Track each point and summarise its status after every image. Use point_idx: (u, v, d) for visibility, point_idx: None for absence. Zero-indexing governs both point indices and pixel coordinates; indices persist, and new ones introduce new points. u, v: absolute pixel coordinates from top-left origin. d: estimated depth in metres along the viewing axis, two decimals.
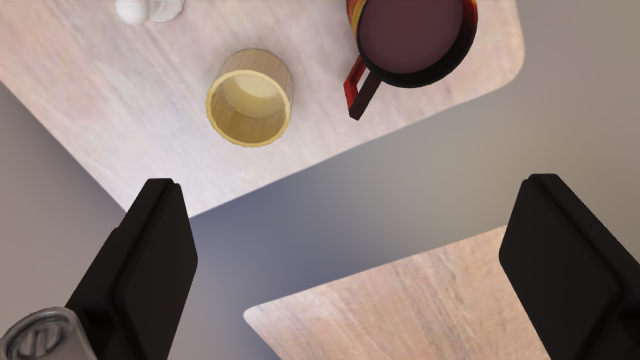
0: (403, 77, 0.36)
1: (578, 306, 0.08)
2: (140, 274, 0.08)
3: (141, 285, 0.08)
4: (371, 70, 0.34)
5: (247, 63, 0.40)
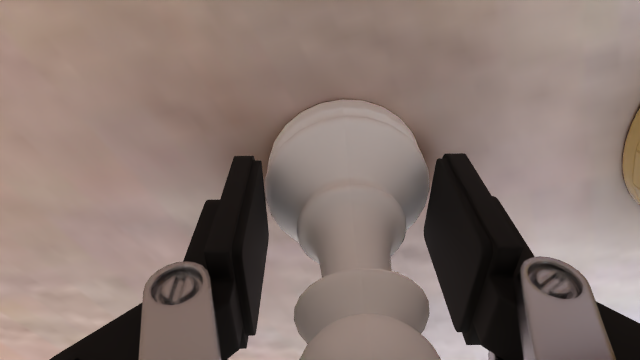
0: None
1: (466, 269, 0.09)
2: (247, 236, 0.09)
3: (248, 246, 0.09)
4: None
5: None
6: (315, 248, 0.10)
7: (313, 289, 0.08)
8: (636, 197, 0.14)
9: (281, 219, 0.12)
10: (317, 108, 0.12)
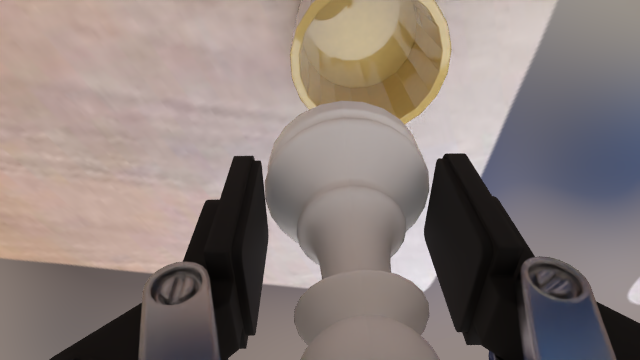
0: None
1: (466, 269, 0.09)
2: (247, 237, 0.09)
3: (247, 246, 0.09)
4: None
5: (305, 7, 0.22)
6: (315, 249, 0.10)
7: (313, 291, 0.08)
8: None
9: (281, 220, 0.12)
10: (317, 110, 0.12)
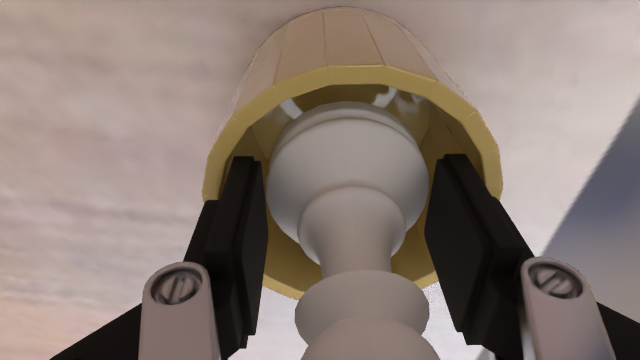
0: None
1: (466, 269, 0.09)
2: (247, 236, 0.09)
3: (247, 246, 0.09)
4: None
5: (233, 104, 0.12)
6: (315, 249, 0.10)
7: (314, 291, 0.08)
8: None
9: (281, 220, 0.12)
10: (318, 110, 0.12)
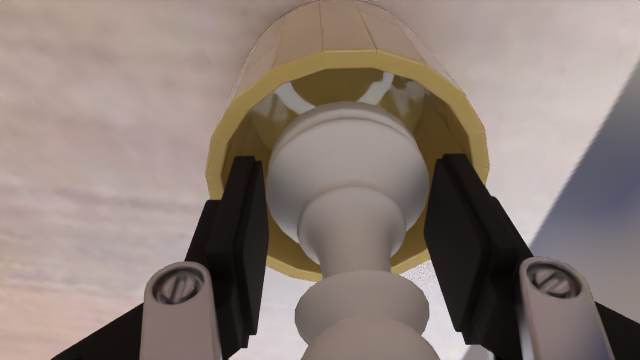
0: None
1: (465, 268, 0.09)
2: (248, 236, 0.09)
3: (249, 246, 0.09)
4: None
5: (234, 89, 0.13)
6: (315, 249, 0.10)
7: (314, 291, 0.08)
8: None
9: (281, 220, 0.12)
10: (317, 110, 0.12)
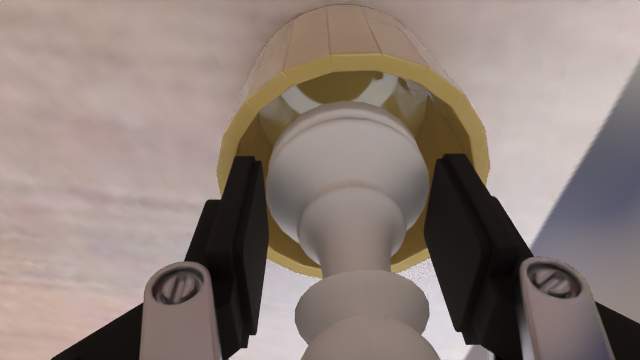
0: None
1: (465, 268, 0.09)
2: (248, 236, 0.09)
3: (248, 246, 0.09)
4: None
5: (245, 91, 0.13)
6: (316, 249, 0.10)
7: (314, 290, 0.08)
8: None
9: (281, 220, 0.12)
10: (318, 110, 0.12)
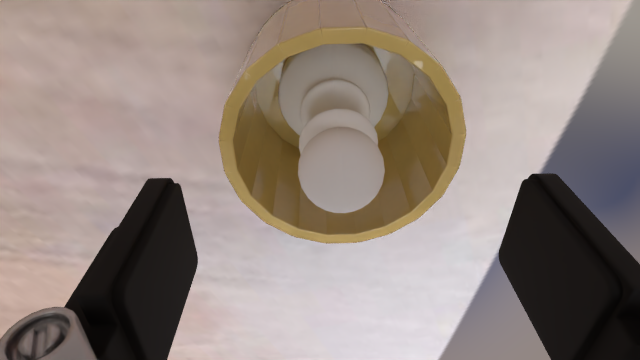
0: None
1: (578, 306, 0.08)
2: (140, 274, 0.08)
3: (141, 285, 0.08)
4: None
5: (244, 66, 0.14)
6: None
7: (310, 122, 0.14)
8: None
9: (289, 114, 0.18)
10: None
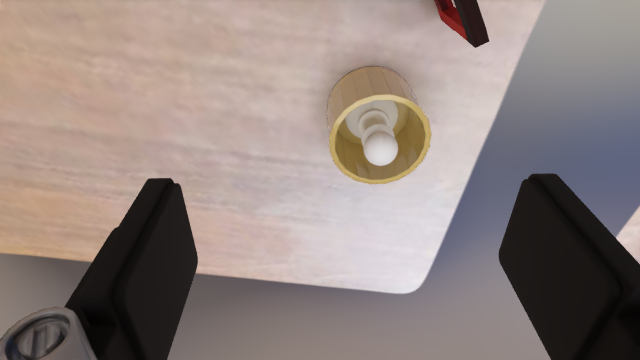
0: None
1: (578, 306, 0.08)
2: (140, 274, 0.08)
3: (141, 285, 0.08)
4: None
5: (338, 106, 0.34)
6: (364, 128, 0.36)
7: (367, 129, 0.34)
8: None
9: (350, 125, 0.38)
10: None
